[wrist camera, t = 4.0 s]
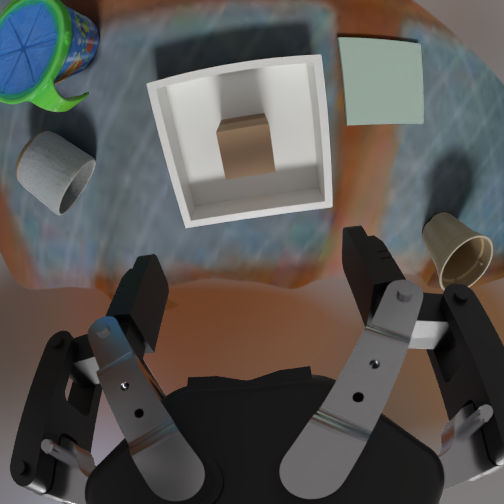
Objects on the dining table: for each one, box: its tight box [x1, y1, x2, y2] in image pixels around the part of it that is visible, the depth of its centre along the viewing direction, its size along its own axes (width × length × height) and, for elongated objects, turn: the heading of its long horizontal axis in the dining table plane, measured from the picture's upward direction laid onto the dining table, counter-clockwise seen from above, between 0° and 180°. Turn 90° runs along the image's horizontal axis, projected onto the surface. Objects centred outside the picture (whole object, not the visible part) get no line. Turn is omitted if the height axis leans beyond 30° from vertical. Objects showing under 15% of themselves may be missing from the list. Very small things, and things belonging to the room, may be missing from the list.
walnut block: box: [216, 113, 276, 180], centre depth 27 cm, size 4×4×6 cm
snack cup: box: [0, 0, 99, 112], centre depth 18 cm, size 16×10×10 cm
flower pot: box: [422, 212, 493, 290], centre depth 34 cm, size 9×9×9 cm
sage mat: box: [337, 37, 424, 125], centre depth 26 cm, size 10×10×1 cm
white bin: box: [147, 55, 333, 228], centre depth 29 cm, size 16×16×4 cm
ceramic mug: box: [15, 131, 96, 216], centre depth 28 cm, size 11×8×8 cm
